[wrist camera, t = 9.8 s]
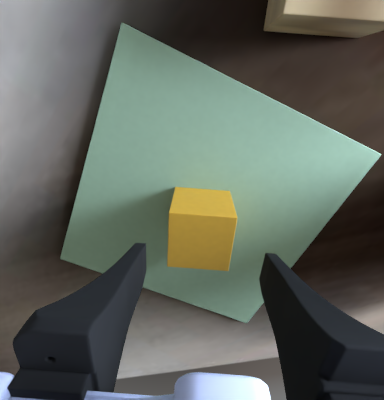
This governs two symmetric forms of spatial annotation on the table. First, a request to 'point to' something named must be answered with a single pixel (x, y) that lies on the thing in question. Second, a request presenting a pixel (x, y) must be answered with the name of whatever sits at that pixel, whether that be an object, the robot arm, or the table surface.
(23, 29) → the table surface
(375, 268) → the table surface
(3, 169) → the table surface
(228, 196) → the mustard cube
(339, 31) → the birch block
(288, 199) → the sage mat
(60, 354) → the robot arm
